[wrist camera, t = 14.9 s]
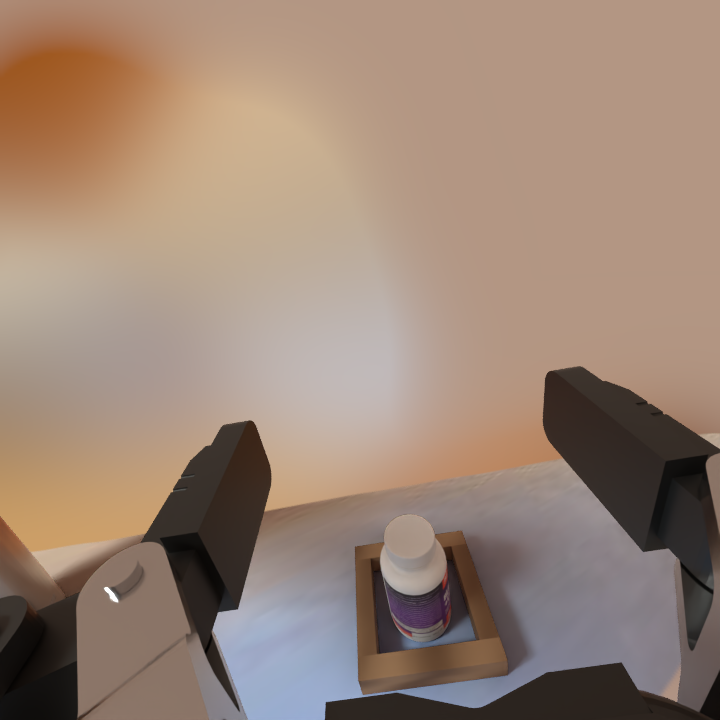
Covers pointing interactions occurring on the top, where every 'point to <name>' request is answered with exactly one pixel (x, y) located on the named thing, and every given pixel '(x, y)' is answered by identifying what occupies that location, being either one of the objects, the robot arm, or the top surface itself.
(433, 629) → the pill bottle
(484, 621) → the socket block
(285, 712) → the top surface
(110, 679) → the robot arm
